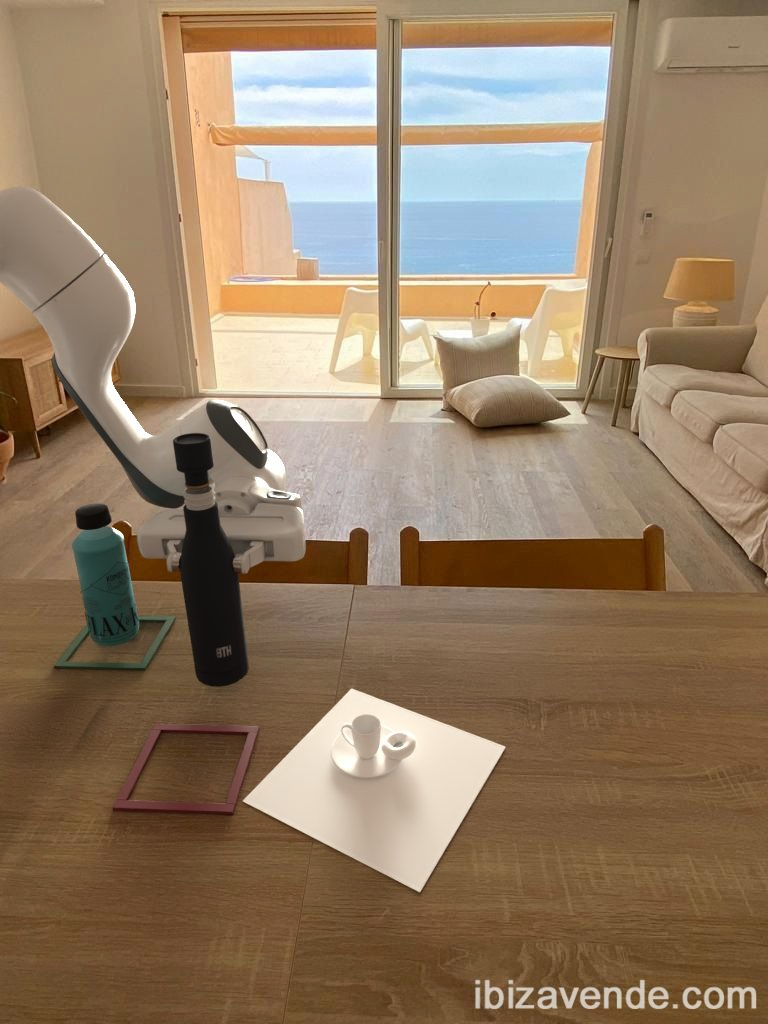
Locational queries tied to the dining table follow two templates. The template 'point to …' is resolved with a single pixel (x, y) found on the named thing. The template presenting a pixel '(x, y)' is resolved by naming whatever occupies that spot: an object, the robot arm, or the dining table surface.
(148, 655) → the green square
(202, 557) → the insulated water bottle
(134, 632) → the beverage bottle
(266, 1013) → the dining table surface
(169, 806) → the red square
